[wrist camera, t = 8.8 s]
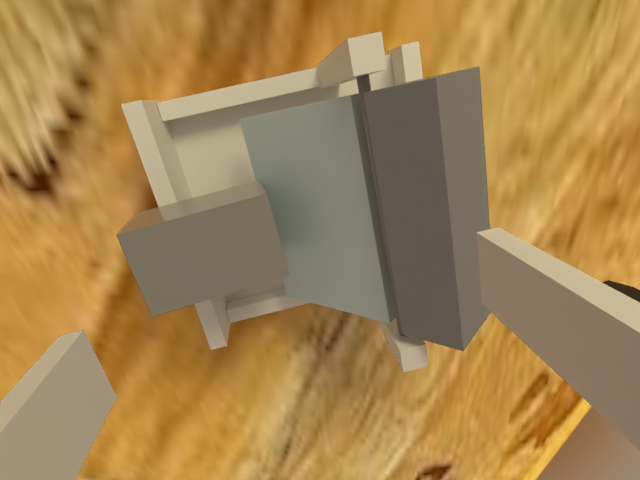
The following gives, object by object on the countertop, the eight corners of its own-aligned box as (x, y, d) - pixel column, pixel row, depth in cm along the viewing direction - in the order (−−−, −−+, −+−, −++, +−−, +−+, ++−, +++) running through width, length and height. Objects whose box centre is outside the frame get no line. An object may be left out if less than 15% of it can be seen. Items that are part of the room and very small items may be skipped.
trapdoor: (282, 108, 27) (231, 120, 25) (479, 66, 18) (435, 77, 15) (320, 273, 32) (281, 300, 29) (495, 306, 23) (463, 351, 20)
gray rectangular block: (278, 248, 28) (164, 282, 26) (258, 179, 26) (136, 213, 25) (289, 274, 23) (152, 317, 22) (266, 193, 21) (116, 235, 20)
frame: (131, 108, 28) (31, 108, 16) (403, 47, 29) (498, 5, 17) (207, 319, 33) (174, 433, 22) (430, 263, 34) (514, 342, 23)
